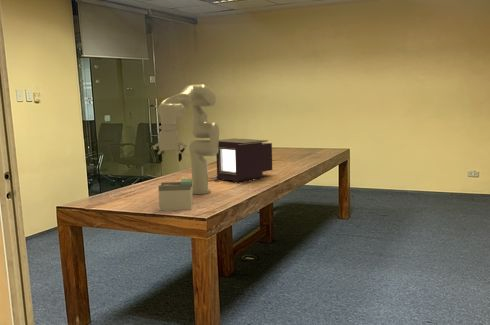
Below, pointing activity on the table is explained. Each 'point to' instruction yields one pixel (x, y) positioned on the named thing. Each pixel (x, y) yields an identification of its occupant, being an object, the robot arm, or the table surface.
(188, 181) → the keeper
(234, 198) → the table surface
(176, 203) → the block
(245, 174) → the crt monitor
